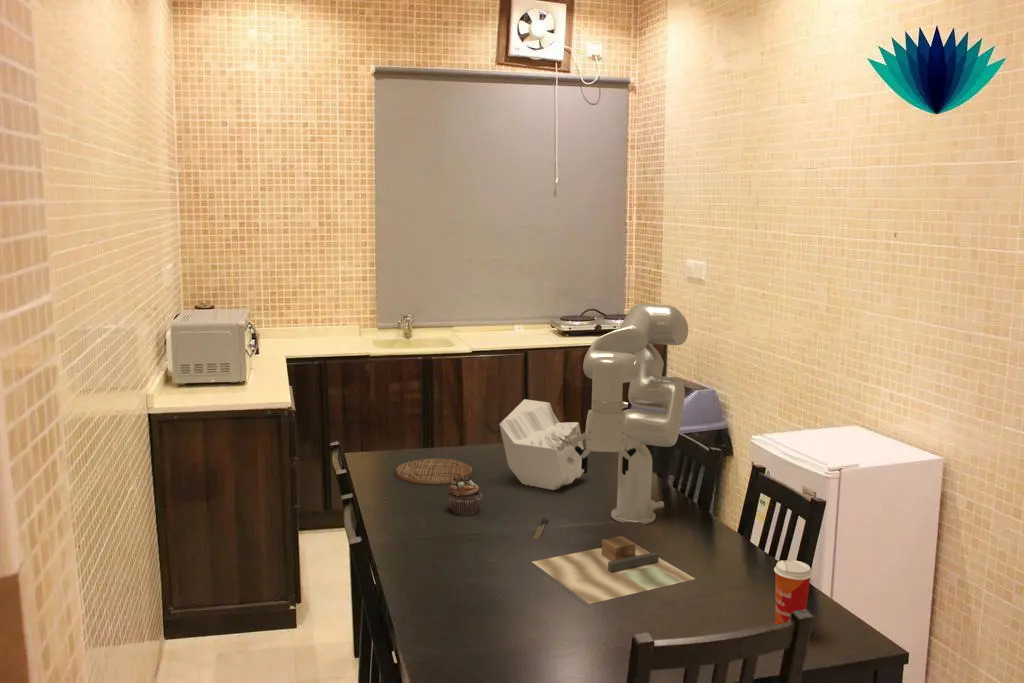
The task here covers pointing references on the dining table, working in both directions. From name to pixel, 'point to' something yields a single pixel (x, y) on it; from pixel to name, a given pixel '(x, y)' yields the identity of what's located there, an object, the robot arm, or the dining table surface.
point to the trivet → (433, 471)
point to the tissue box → (541, 446)
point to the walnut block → (618, 548)
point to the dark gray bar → (633, 561)
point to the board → (608, 575)
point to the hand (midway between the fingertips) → (604, 472)
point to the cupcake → (464, 496)
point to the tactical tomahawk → (540, 527)
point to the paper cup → (790, 588)
